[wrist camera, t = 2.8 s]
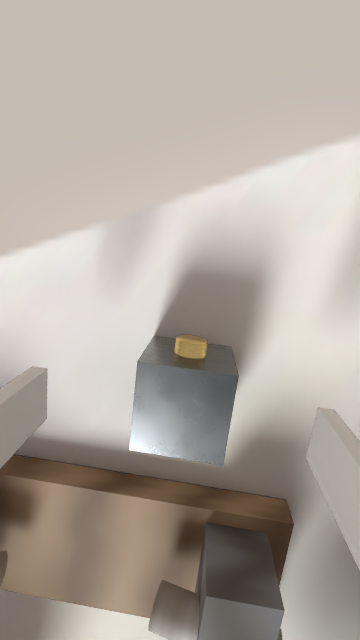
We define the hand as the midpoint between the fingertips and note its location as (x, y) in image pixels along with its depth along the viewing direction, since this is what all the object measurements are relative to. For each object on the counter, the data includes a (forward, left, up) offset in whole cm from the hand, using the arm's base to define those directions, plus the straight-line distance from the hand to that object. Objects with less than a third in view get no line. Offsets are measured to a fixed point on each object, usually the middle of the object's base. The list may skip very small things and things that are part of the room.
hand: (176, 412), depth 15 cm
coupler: (0, 0, -6) cm, 6 cm away
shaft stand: (+5, +13, -6) cm, 15 cm away
